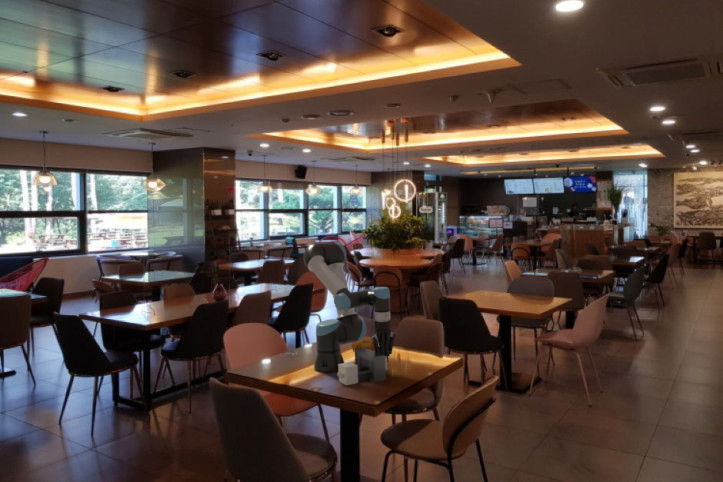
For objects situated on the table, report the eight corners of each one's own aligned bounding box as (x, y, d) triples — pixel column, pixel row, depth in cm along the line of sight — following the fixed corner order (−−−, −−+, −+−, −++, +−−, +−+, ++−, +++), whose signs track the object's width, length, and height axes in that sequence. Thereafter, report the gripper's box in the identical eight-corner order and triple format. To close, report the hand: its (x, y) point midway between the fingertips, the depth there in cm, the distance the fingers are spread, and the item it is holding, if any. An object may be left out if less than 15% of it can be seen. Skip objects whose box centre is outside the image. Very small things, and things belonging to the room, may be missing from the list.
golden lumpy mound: (376, 349, 312) (376, 335, 312) (377, 352, 296) (377, 337, 297) (351, 350, 312) (351, 336, 312) (351, 353, 296) (350, 338, 297)
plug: (335, 382, 246) (335, 364, 245) (379, 372, 258) (378, 356, 257) (343, 386, 240) (342, 368, 239) (387, 376, 252) (387, 359, 251)
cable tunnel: (355, 374, 257) (354, 350, 256) (366, 371, 260) (365, 348, 259) (374, 382, 242) (373, 357, 242) (385, 380, 245) (384, 355, 245)
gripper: (375, 323, 247) (377, 374, 249) (398, 319, 254) (400, 369, 255) (366, 320, 254) (368, 370, 255) (389, 317, 260) (391, 365, 262)
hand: (384, 369), depth 255 cm, fingers closed
